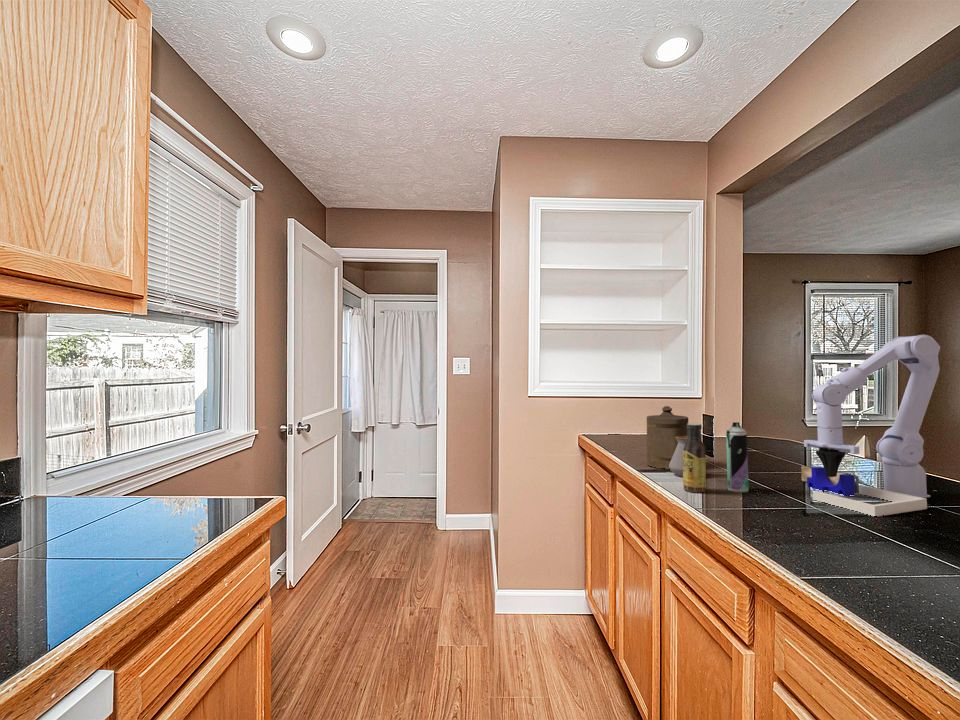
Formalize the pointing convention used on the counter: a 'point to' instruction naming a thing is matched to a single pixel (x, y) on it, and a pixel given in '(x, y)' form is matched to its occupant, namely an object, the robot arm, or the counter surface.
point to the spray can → (737, 458)
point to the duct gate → (807, 473)
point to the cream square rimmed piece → (896, 506)
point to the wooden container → (664, 437)
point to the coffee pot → (678, 457)
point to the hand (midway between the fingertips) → (831, 476)
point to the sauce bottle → (694, 460)
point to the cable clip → (822, 482)
